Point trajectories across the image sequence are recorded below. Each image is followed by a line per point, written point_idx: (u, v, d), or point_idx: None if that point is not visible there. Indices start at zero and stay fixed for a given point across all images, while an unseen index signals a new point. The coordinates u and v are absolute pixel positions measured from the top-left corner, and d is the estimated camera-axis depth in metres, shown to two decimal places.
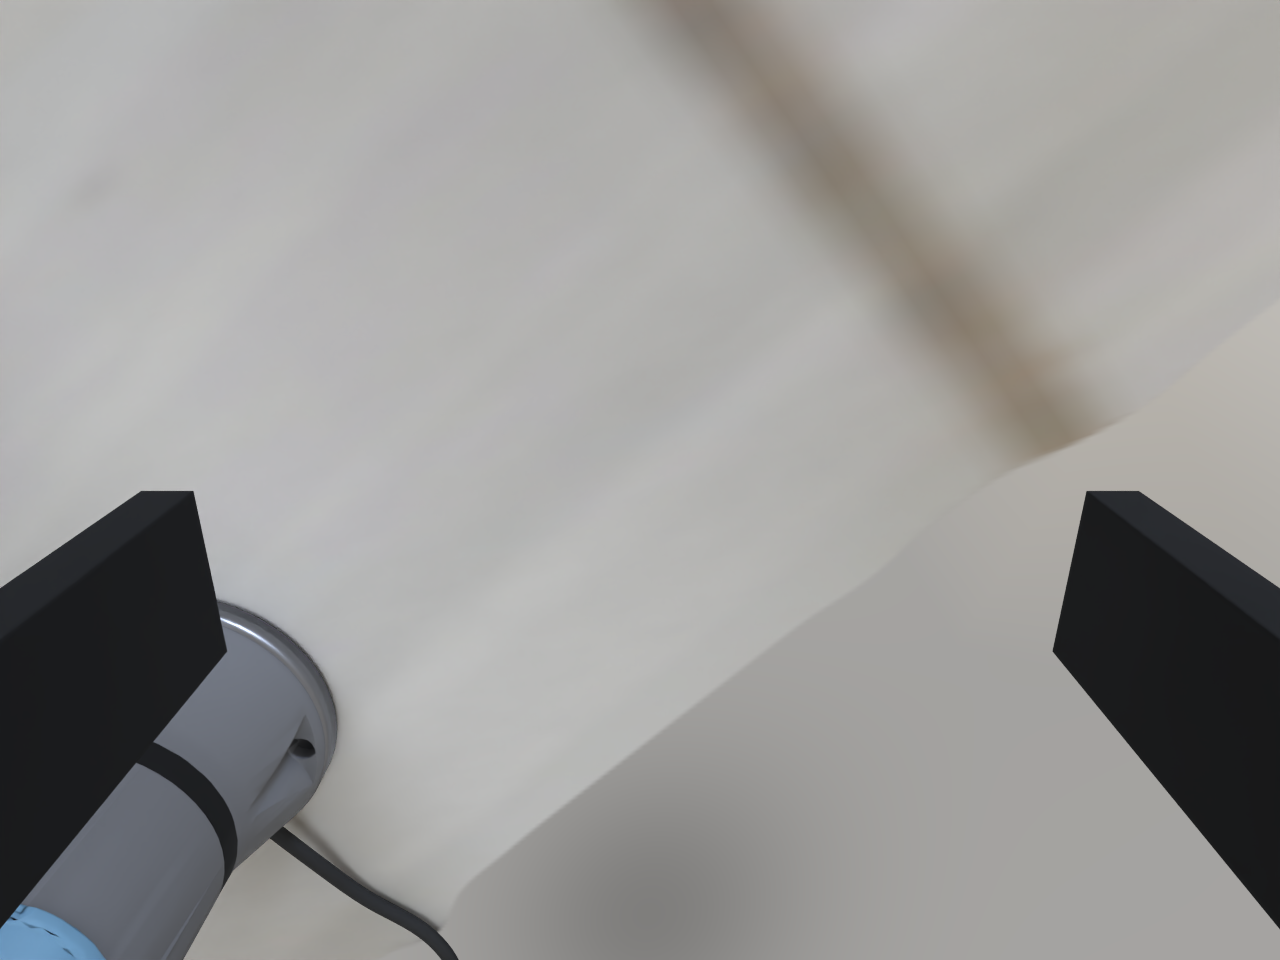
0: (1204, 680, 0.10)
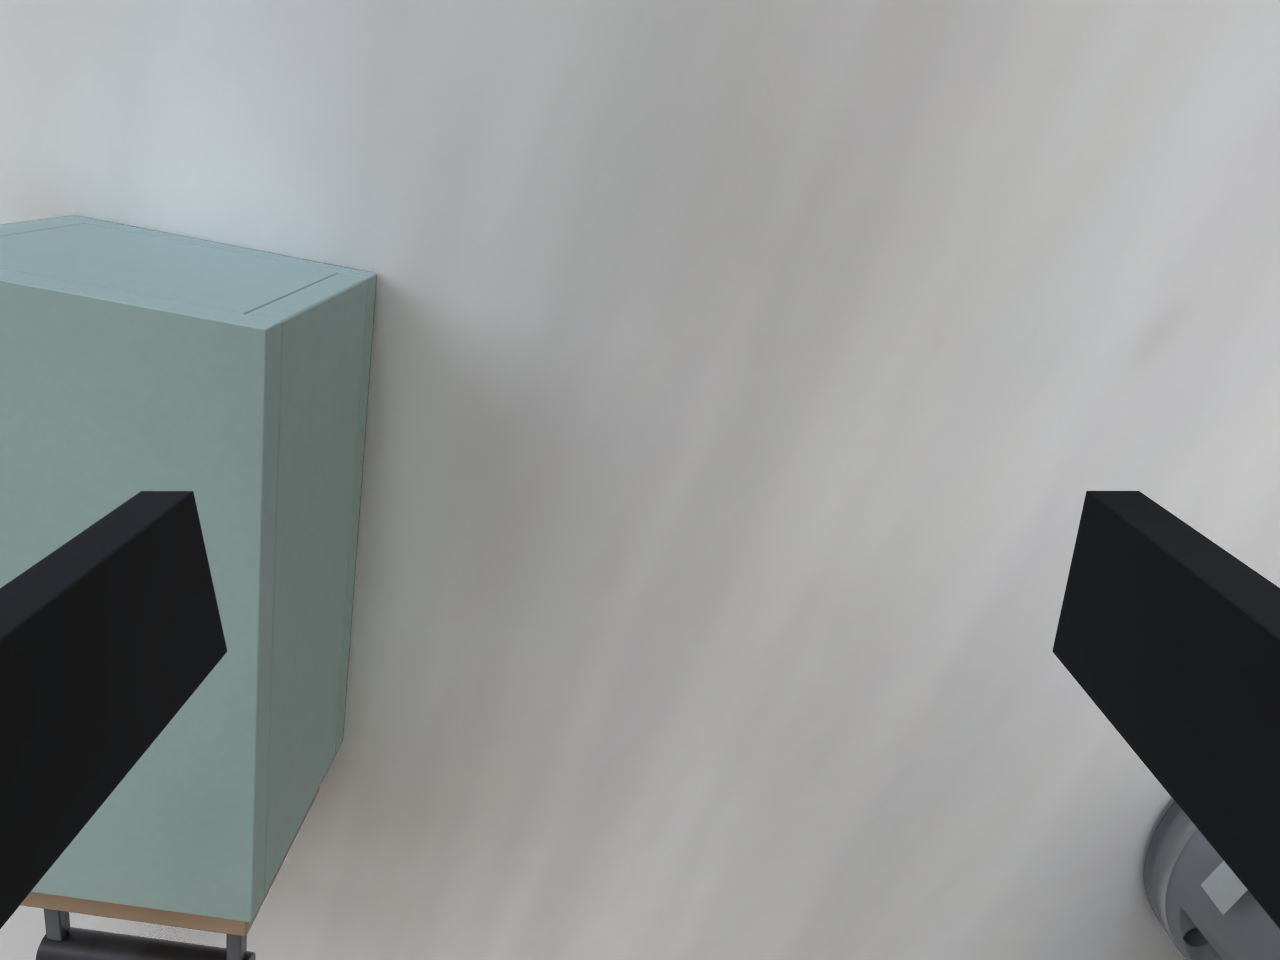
0: (1204, 680, 0.10)
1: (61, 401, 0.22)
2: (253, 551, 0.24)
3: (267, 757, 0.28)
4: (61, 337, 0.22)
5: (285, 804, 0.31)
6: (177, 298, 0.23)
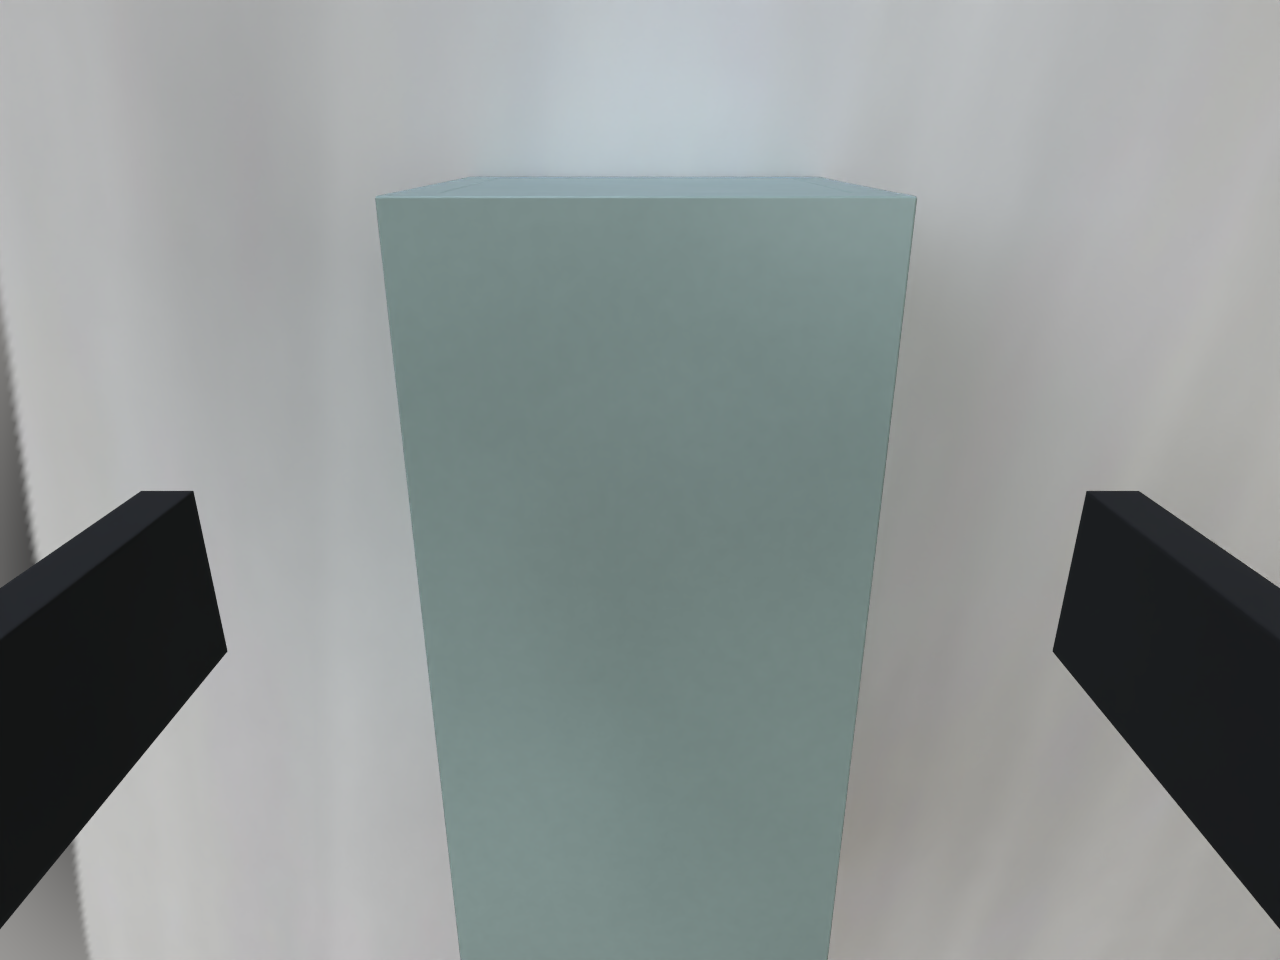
0: (1204, 680, 0.10)
1: (649, 345, 0.18)
2: (872, 499, 0.19)
3: None
4: (655, 259, 0.17)
5: None
6: (762, 192, 0.18)
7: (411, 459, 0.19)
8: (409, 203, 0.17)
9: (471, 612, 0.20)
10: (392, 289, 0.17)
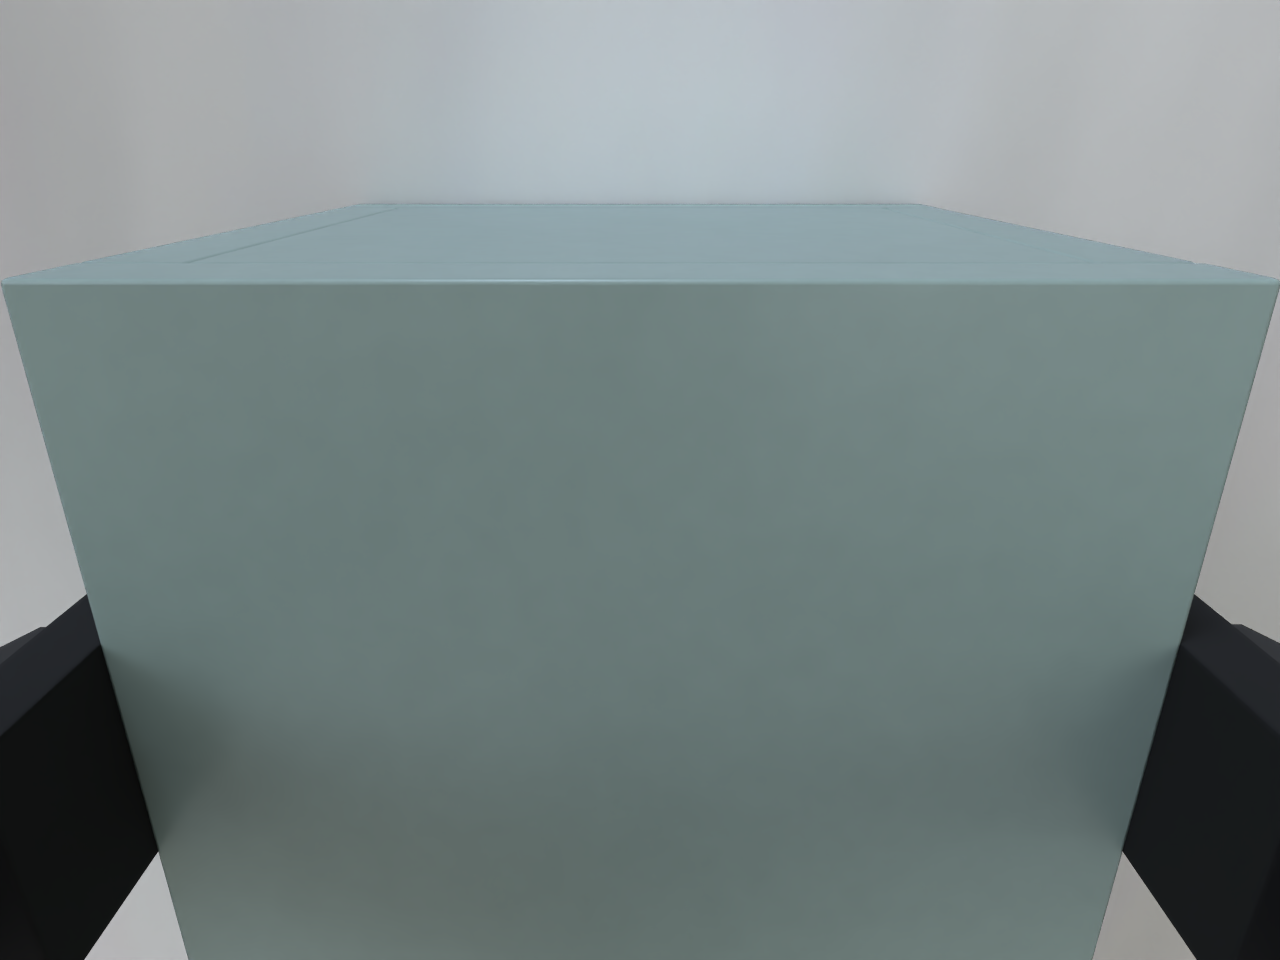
0: None
1: (648, 594, 0.08)
2: (1099, 870, 0.09)
3: None
4: (662, 419, 0.07)
5: None
6: (893, 259, 0.08)
7: (157, 804, 0.09)
8: (84, 295, 0.07)
9: None
10: (68, 483, 0.08)
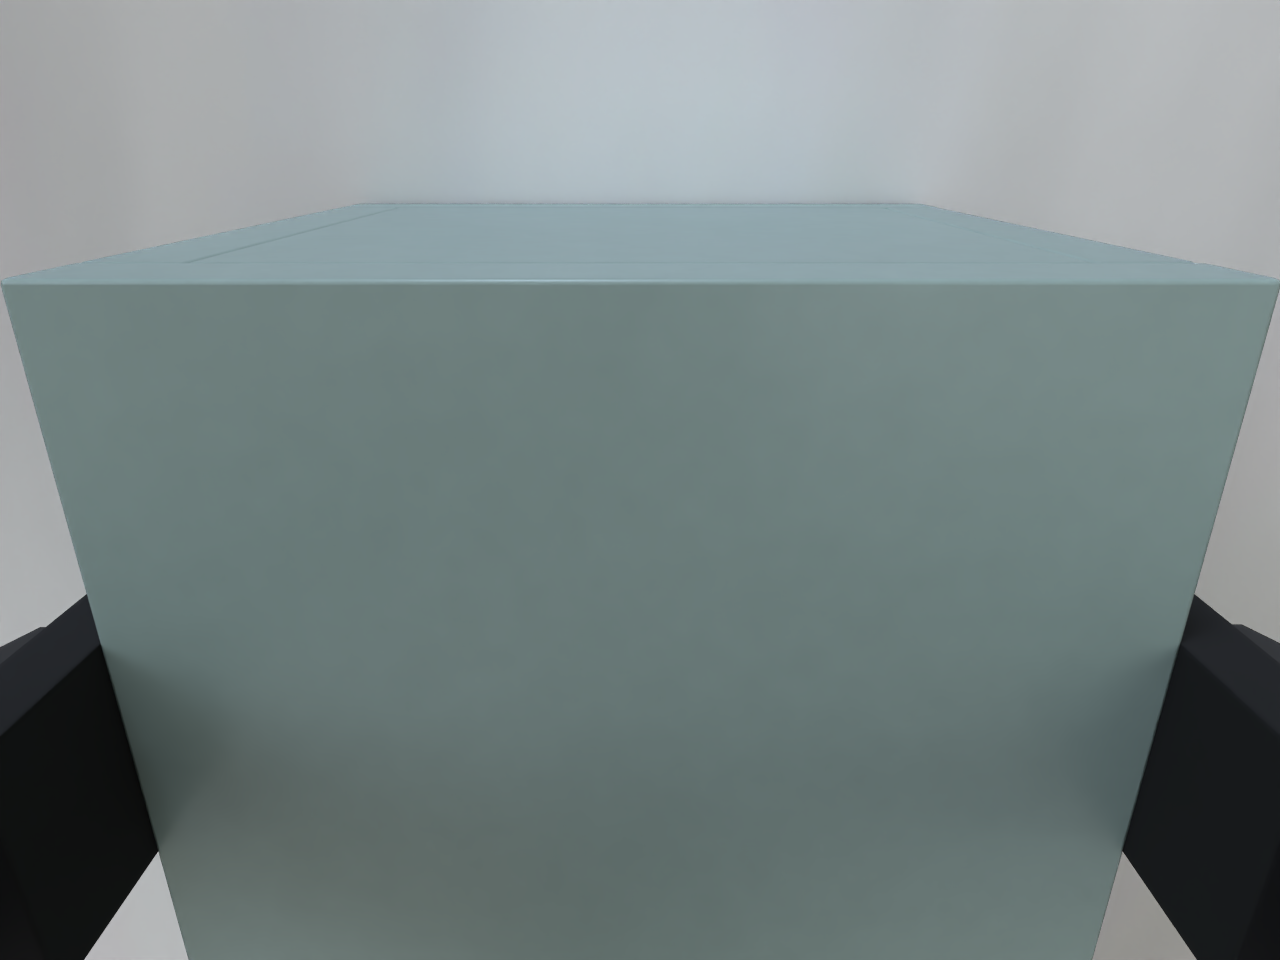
0: None
1: (648, 594, 0.08)
2: (1099, 870, 0.09)
3: None
4: (663, 419, 0.07)
5: None
6: (893, 259, 0.08)
7: (157, 804, 0.09)
8: (84, 295, 0.07)
9: None
10: (68, 482, 0.08)
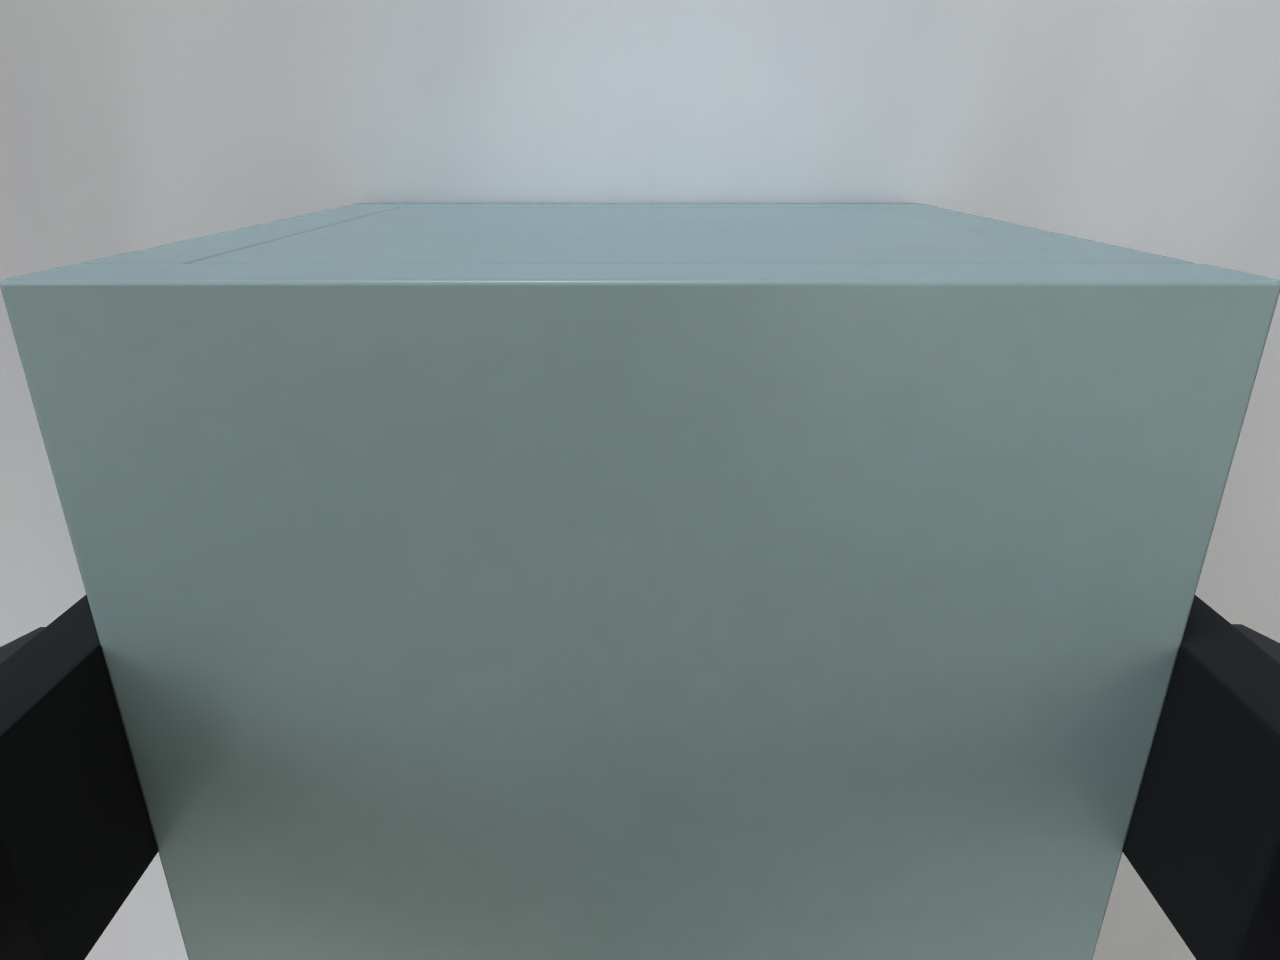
0: None
1: (648, 594, 0.08)
2: (1099, 871, 0.09)
3: None
4: (663, 420, 0.07)
5: None
6: (894, 259, 0.08)
7: (157, 804, 0.09)
8: (83, 296, 0.07)
9: None
10: (68, 484, 0.08)
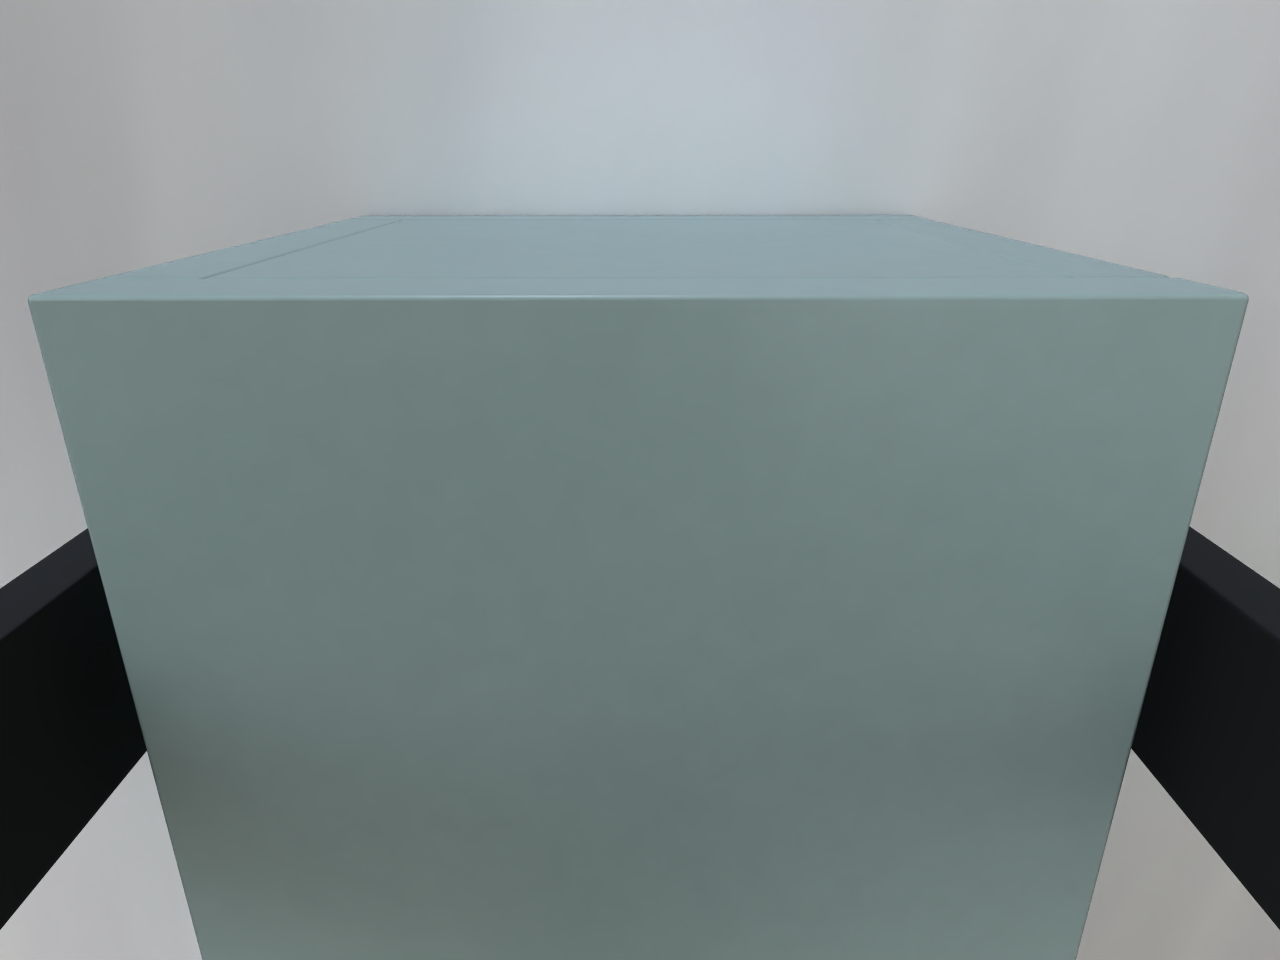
0: (1203, 680, 0.10)
1: (647, 595, 0.08)
2: (1084, 863, 0.10)
3: None
4: (660, 428, 0.08)
5: None
6: (881, 273, 0.09)
7: (172, 801, 0.09)
8: (107, 311, 0.07)
9: None
10: (90, 490, 0.08)
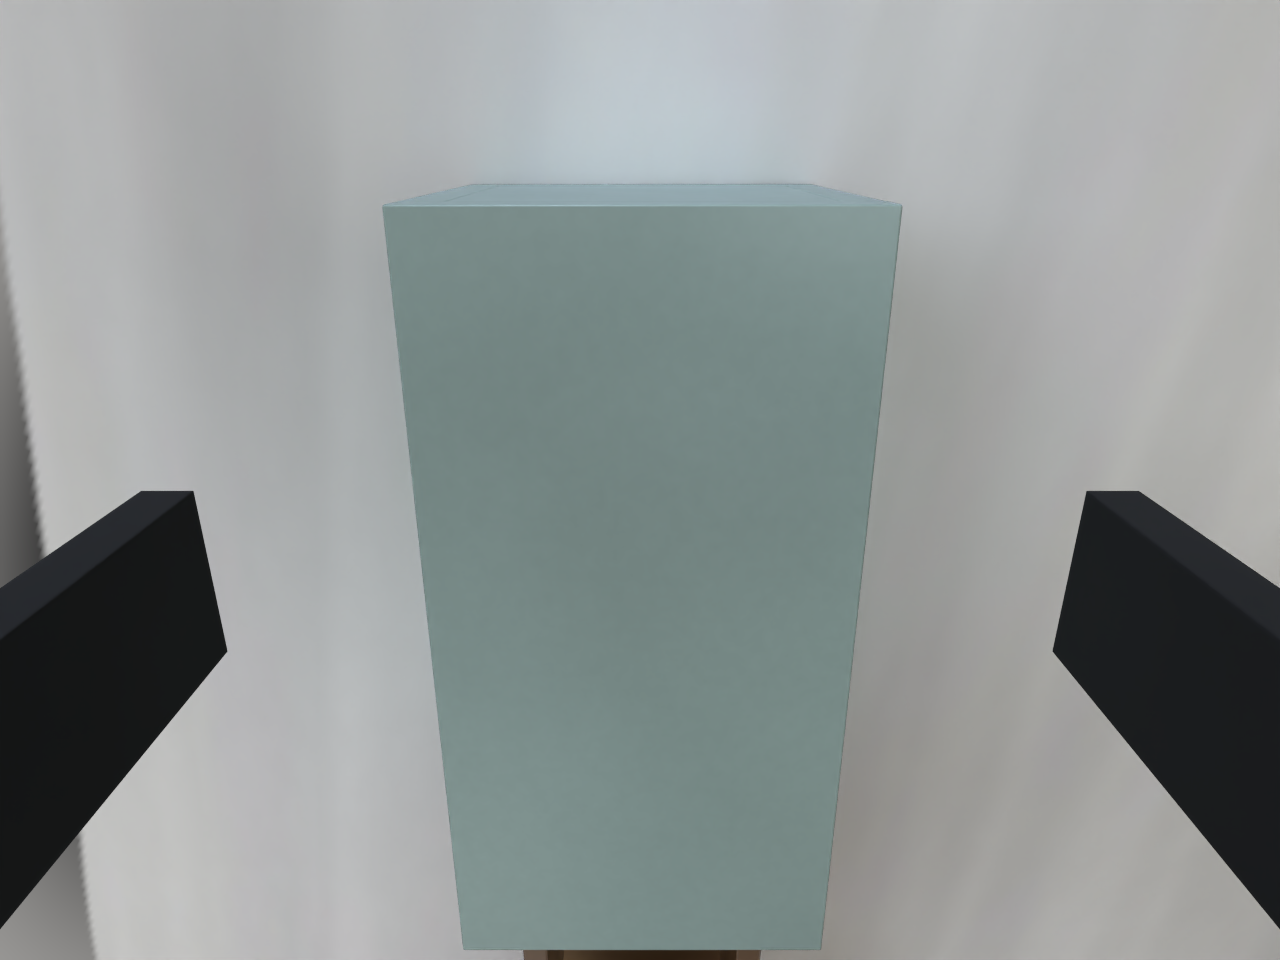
0: (1204, 680, 0.10)
1: (645, 347, 0.18)
2: (861, 496, 0.20)
3: None
4: (651, 265, 0.18)
5: None
6: (754, 200, 0.19)
7: (416, 458, 0.19)
8: (415, 211, 0.17)
9: (474, 606, 0.21)
10: (397, 294, 0.18)
